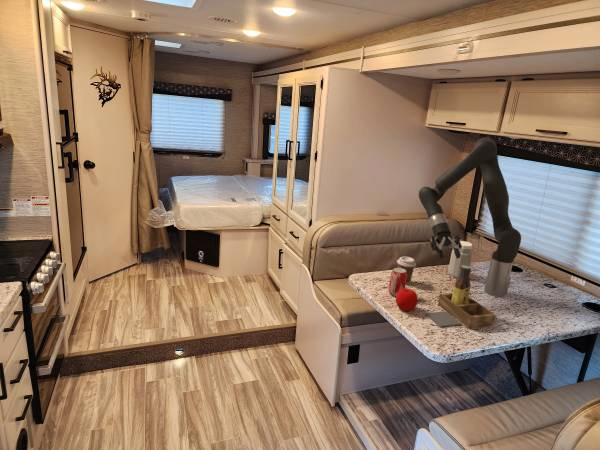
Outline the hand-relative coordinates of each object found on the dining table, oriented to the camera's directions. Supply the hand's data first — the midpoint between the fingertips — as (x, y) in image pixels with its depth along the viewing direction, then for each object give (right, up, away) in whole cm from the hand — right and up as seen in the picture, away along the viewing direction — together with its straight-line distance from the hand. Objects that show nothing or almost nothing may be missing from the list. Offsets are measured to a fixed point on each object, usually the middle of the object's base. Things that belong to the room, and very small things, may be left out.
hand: (450, 258), depth 174 cm
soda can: (-23, -17, +6) cm, 29 cm away
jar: (+16, -12, +33) cm, 39 cm away
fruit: (-22, -21, -6) cm, 31 cm away
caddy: (+3, -23, -8) cm, 25 cm away
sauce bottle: (+2, -22, -4) cm, 22 cm away
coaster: (-8, -24, -13) cm, 29 cm away
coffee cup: (-15, -13, +21) cm, 29 cm away
